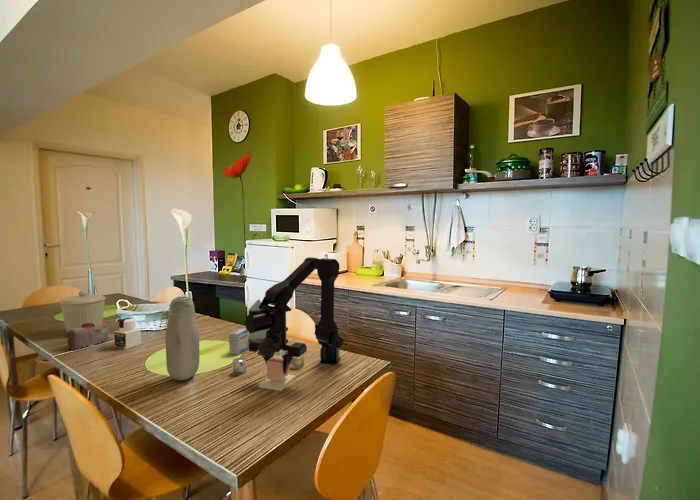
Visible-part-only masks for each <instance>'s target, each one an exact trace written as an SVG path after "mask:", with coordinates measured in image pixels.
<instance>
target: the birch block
mask: <svg viewBox="0 0 700 500" xmlns="http://www.w3.org/2000/svg"><path fill="white" fill-rule="evenodd" d="M304 365H305V355H304V354H303V355H301V356H300V357H293V358H292V360H291V362H290V365H289V367H288V369H296V370H300V369H301V368H303V366H304Z"/></svg>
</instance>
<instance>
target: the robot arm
mask: <svg viewBox="0 0 700 500" xmlns="http://www.w3.org/2000/svg"><path fill="white" fill-rule="evenodd" d="M303 260H304V261H303V262H301V264H300V265H298V266H297V268H295V269H294V270H293V271H292V272H291V273H290V274H289V275H288V276H287V277H286V278H285V279H283V280H282V281H280V282H278V283H275V284H274V285H272V286H271V287H269V288H268V289H267V290H265V292H264V294H265V295H264V297H263V298H262V300H261V304H260V306H259V307H258V310H250V311H249V315H248V314H247V316H246V317H245V320H244V325H245V329H247V331H248V334H249V333H254V332H258V331H262V330H266V329H268V330H267V331H266V337H265V338H264V339H261V338H257V339H256V340H254V341H253V340H251V341H250V342H249V343H248V352H253V353H257V355H259V356H261V357H262V358H263V360H264V362H265V364H266V366H267V360H269V359H270V358H272V357H273V355H274V353H275V352H279V351H280V350H281V351H285V354H284V355H283V356H282V358H283V360H284V363H283V372H284V374H286V372H287V370H288V371H289V365H290V362H291V360H292V358H293V357H300V356H301V355H304V354H305V353H307V351H308V350H307V349H308V348H307V344H305V343H303V342H293V343H292V344H290V345H288V343H289V339H287V332H288V331H289V327H287V312H291V311H292V308H291V307H290V306H288V303H290V300H292V298H293V296H294V292H295V291H296V290H297V289H298V287H299V286H300V285H301V284H302V283H303V282H304V281H305V280H306V279H307V278H308V277H309V276H311V274H312V273H313V272H314V271H315V270H316V272H317V276H318V278H319V280H320V283H321V285H320V286H321V287H320V319H319V321H318V323H316V324H314V335H315V339H316V340H317V343H318V345H321V348H320V352H319V353H320V355H319V356H320V361H319V363H324V364H330V365H337V363H338V362H339V361H340V360H341V359H342V357H341V356H340V348H342V346H343V345H344V339H343V337H341V336H340V335H339V331H338V325H337V324H336V321H335V319H334V317H335V316H334V313H335V282H336V280H337V279H338V277H339V273H340V262H339V261H338V259H335V258H325V257H322V258H317V257H312V256H311V257H310V256H309V257H306V258H304V259H303Z"/></svg>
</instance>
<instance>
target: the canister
mask: <svg viewBox="0 0 700 500" xmlns="http://www.w3.org/2000/svg"><path fill="white" fill-rule="evenodd" d="M88 293H89V292H88V291H87V290H85V289H82V290H79V292H78V295H73V296H69V297H66V298H63V299H62V300H60V301H59V302H58V303H59V304H60V305H61V310H62V311H61V312H62V317H63V322H64V326H65V331H66V333H67V334H68V331H69V330H71V329H76V328H79V327H82V325H83V324H85V323H93V324H94V325H95V324H99V323H102V324H103V321H104V310H105V302H106V301H105V300H107V297H106V296H104V295H102V294H88Z"/></svg>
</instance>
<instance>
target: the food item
mask: <svg viewBox="0 0 700 500" xmlns="http://www.w3.org/2000/svg"><path fill="white" fill-rule="evenodd" d="M109 338H110V328H109V327H108V326H106V324H105V323H103V322H102V323H99V324H95V325H94V324H93V323H85V324H83V325H82V327H79V328H76V329H71V330H69V331H68V333H67V346H66V347H69V348H73V349H77V348H80V347H84V346H88V347H89V345H94V344H96V345H98V344H97V343H99V344H101V343H100V342H103V343H105V342H106V341H108V340H109ZM104 341H105V342H104ZM94 346H95V345H94ZM69 348H68V349H69ZM73 349H72V350H73ZM77 350H78V349H77Z"/></svg>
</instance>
